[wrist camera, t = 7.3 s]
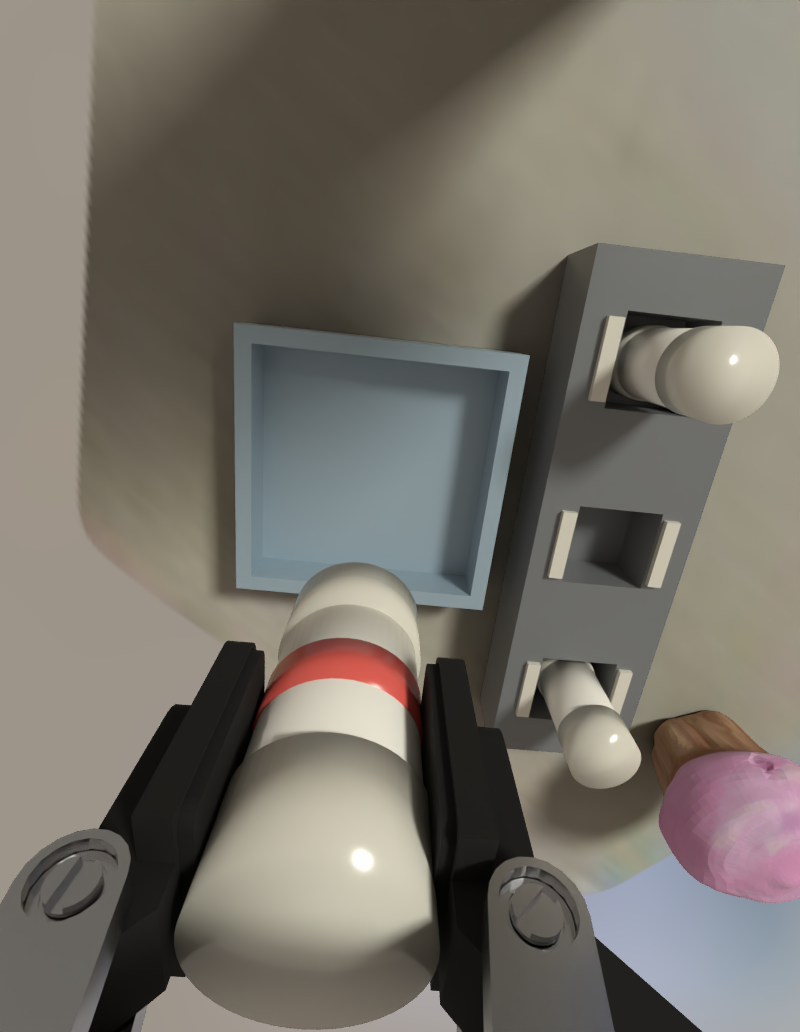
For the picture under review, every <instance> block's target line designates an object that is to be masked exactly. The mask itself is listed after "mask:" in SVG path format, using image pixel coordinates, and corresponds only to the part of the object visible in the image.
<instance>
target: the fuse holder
mask: <svg viewBox="0 0 800 1032" xmlns="http://www.w3.org/2000/svg"><path fill="white" fill-rule="evenodd" d="M784 268H785V265H778V264H770V263H762V262H753V261H745V260H737V259H728V258H720V257H712V256H703V255H695V254H687V253H678V252H670V251H662V250H653V249H645V248H637V247H628V246H620V245H612V244H604V243H597V244H594V245H592V246H589V247H587V248H585V249H582V250H580V251H577V252H575V253H572V254H570V255H568V258H567V263H566V268H565V273H564V278H563V283H562V288H561V294H560V299H559V304H558V309H557V314H556V319H555V324H554V329H553V334H552V339H551V344H550V349H549V354H548V359H547V364H546V369H545V374H544V379H543V384H542V389H541V394H540V399H539V404H538V409H537V415H536V420H535V425H534V430H533V435H532V440H531V445H530V450H529V455H528V460H527V465H526V470H525V475H524V480H523V485H522V490H521V495H520V500H519V505H518V510H517V515H516V520H515V525H514V531H513V536H512V541H511V546H510V551H509V556H508V561H507V566H506V571H505V576H504V581H503V586H502V591H501V596H500V601H499V606H498V611H497V616H496V621H495V626H494V631H493V636H492V641H491V646H490V652H489V657H488V662H487V667H486V672H485V677H484V682H483V687H482V692H481V697H480V704H481V709H482V714H483V718H484V723H485V727H488V728H499V729H500V730H501V732H502V734H503V737H504V741H505V745H506V748H508V749H520V750H533V751H546V752H558V753H563V751H562V748H561V746H560V743H559V740H558V736H557V730H556V727H555V725H554V722H553V720H552V717H551V715H550V712H549V709H548V707H547V704H546V702H545V699H544V697H543V695H542V694H541V693H540V691H539V688H538V686H537V682H538V678H539V674H540V670H541V665H542V661H543V658H547V659H559V660H571V661H582V662H590V663H591V665H592V667H593V669H594V671H595V676H596V677H597V679H598V681H599V683H600V685H601V686H602V688H603V690H604V692H605V694H606V695H607V697H608V699H609V701H610V702H611V704H612V706H613V708H614V710H615V711H616V712H617V713H618V714H619V715H620V716H621V718H622V720H623V722H624V723H625V725H626V727H627V729H628V730H630V727H631V724H632V721H633V718H634V715H635V712H636V709H637V706H638V703H639V700H640V697H641V694H642V691H643V688H644V685H645V682H646V679H647V676H648V673H649V670H650V667H651V664H652V661H653V658H654V655H655V652H656V649H657V646H658V643H659V640H660V637H661V634H662V631H663V628H664V625H665V622H666V619H667V616H668V613H669V610H670V607H671V605H672V602H673V599H674V596H675V593H676V590H677V587H678V584H679V581H680V578H681V575H682V572H683V569H684V566H685V563H686V560H687V557H688V554H689V551H690V548H691V545H692V542H693V539H694V536H695V533H696V530H697V527H698V524H699V521H700V518H701V515H702V512H703V509H704V506H705V503H706V500H707V497H708V494H709V491H710V488H711V485H712V482H713V479H714V476H715V473H716V470H717V467H718V464H719V462H720V459H721V456H722V453H723V450H724V447H725V444H726V441H727V438H728V435H729V432H730V429H731V426H732V423H730V424H724V425H714V424H709V423H705V422H702V421H699V420H696V419H693V418H690V417H687V416H684V415H681V414H677V413H675V412H673V411H671V410H670V409H668V408H667V407H664V406H660V405H657V404H654V403H651V402H648V401H637V400H634V399H631V398H628V397H625V396H621V395H618V394H616V393H614V392H612V391H610V390H609V387H610V383H611V379H612V375H613V370H614V366H615V362H616V358H617V354H618V350H619V346H620V342H621V338H622V334H623V329H624V328H626V327H630V326H635V325H659V326H666V327H669V328H696V327H700V326H748V327H753V328H756V329H758V330H760V331H762V332H763V330H764V327H765V324H766V322H767V319H768V316H769V313H770V310H771V307H772V304H773V301H774V298H775V295H776V292H777V289H778V286H779V283H780V280H781V277H782V274H783V271H784Z"/></svg>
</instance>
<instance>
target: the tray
mask: <svg viewBox="0 0 800 1032" xmlns="http://www.w3.org/2000/svg"><path fill="white" fill-rule="evenodd" d="M233 328H234V424H235V520H236V588H242V589H253V590H264V591H275V592H286V593H297V594H299V593H300V591H301V589H302V588H303V586H304V585H305V584H306V583H307V581H308V580H309V579H310V578H312V577H313V576H314V575H315V574H317V573H318V572H320V571H321V570H323V569H325V568H327V567H330V566H333V565H336V564H341V563H348V562H361V563H368V564H372V565H376V566H378V567H381V568H383V569H386V570H387V571H389V572H391V573H392V574H394V575H395V576H397V577H398V578H399V579H400V580H401V581H402V582H403V583H404V584H405V585H406V586H407V588H408V589H409V591H410V592H411V594H412V596H413V598H414V601H415V604H420V605H431V606H442V607H453V608H464V609H475V610H483V605H484V599H485V594H486V589H487V583H488V578H489V573H490V567H491V562H492V556H493V551H494V546H495V540H496V535H497V530H498V524H499V519H500V514H501V508H502V503H503V497H504V492H505V487H506V481H507V476H508V471H509V465H510V460H511V454H512V449H513V444H514V438H515V433H516V428H517V422H518V417H519V411H520V406H521V401H522V395H523V390H524V385H525V379H526V374H527V369H528V363H529V358H530V355H525V354H521V353H517V352H510V351H501V350H492V349H483V348H474V347H465V346H456V345H447V344H437V343H428V342H419V341H410V340H401V339H392V338H383V337H374V336H365V335H356V334H347V333H338V332H329V331H320V330H311V329H302V328H293V327H284V326H275V325H266V324H257V323H233Z"/></svg>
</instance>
